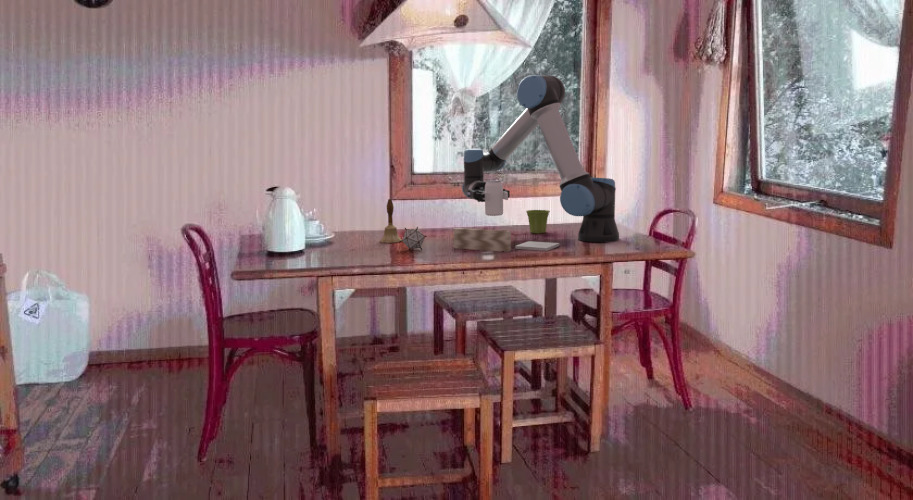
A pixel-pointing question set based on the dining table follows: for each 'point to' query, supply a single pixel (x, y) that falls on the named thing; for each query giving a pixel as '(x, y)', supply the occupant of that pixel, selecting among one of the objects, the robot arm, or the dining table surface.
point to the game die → (413, 238)
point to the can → (494, 198)
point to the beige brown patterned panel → (482, 239)
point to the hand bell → (390, 227)
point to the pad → (537, 246)
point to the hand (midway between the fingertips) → (497, 196)
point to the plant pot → (537, 220)
